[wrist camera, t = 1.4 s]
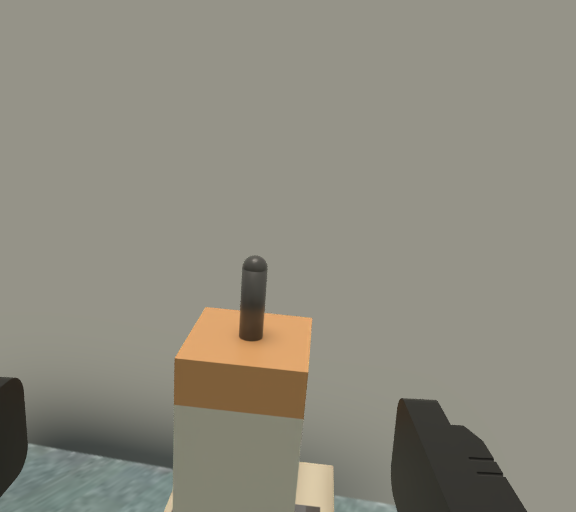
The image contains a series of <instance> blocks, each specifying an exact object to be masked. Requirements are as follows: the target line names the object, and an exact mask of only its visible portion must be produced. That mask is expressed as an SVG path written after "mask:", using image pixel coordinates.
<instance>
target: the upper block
mask: <svg viewBox="0 0 576 512" xmlns="http://www.w3.org/2000/svg"><path fill="white" fill-rule="evenodd" d="M164 512H173V491H172V493H171V496H170V498H169V500H168V503H167V505H166V508H165V510H164ZM294 512H334V483H333V466H330V465H321V464H313V463H304V462H299V470H298V480H297V490H296V500H295V510H294Z"/></svg>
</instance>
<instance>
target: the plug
mask: <svg viewBox="0 0 576 512" xmlns="http://www.w3.org/2000/svg"><path fill="white" fill-rule="evenodd" d="M266 282H267V263H266V261H265V260H264V259H263V258H262V257H260V256H250V257H248V258H247V259H246V260H245V261H244V263H243V267H242V286H241V305H240V311H238V310H228V309H219V308H208V307H206V308H205V309H204V311H203V313H202V314H201V316H200V317H199V319H198V321H197V322H196V324H195V326H194V327H193V329H192V331H191V332H190V334H189V336H188V337H187V339H186V341H185V342H184V344H183V345H182V347H181V349H180V350H179V352H178V354H177V355H176V357H175V370H174V372H175V373H174V447H173V448H174V449H173V512H294V510H295V500H296V490H297V480H298V470H299V459H300V449H301V440H302V430H303V420H304V409H305V399H306V390H307V379H308V368H309V355H310V341H311V327H312V318H307V317H297V316H287V315H278V314H268V313H264V311H265V296H266Z"/></svg>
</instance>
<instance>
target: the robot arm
mask: <svg viewBox="0 0 576 512" xmlns="http://www.w3.org/2000/svg"><path fill="white" fill-rule="evenodd" d="M27 448H28V442H27V428H26V415H25V402H24V390H23V385H22V383H21V381H20V380H19V379H18V378H9V377H0V497H1V496H2V495H3V493H4V492H5V491H6V490H7V489H8V487H9V486H10V485H11V484H12V483H13V481H14V480H15V479H16V478H17V477H18V475H19V474H20V472H21V470H22V468H23V465H24V463H25V459H26V455H27ZM391 484H392V492H393V497H394V500H395V504H396V508H397V512H527V511H526V509H525V508H524V506H523V504H522V503H521V501H520V500H519V498H518V496H517V495H516V493H515V492H514V490H513V488H512V487H511V485H510V484H509V482H508V480H507V479H506V477H503V473H502V471H501V469H500V468H499V466H498V465H497V463H496V462H494V459H493V457H492V455H491V453H490V452H489V450H488V449H487V447H486V445H485V444H484V442H483V441H482V440H481V439H480V438H478V437H477V436H476V435H474V434H473V433H472V432H471V431H469V430H468V429H467V428H466V427H464V426H460V425H450V423H449V421H448V419H447V417H446V416H445V414H444V412H443V410H442V408H441V406H440V405H439V403H438V401H436V400H424V399H403V398H401V399H400V400H399V403H398V407H397V415H396V426H395V434H394V444H393V453H392V463H391Z"/></svg>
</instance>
